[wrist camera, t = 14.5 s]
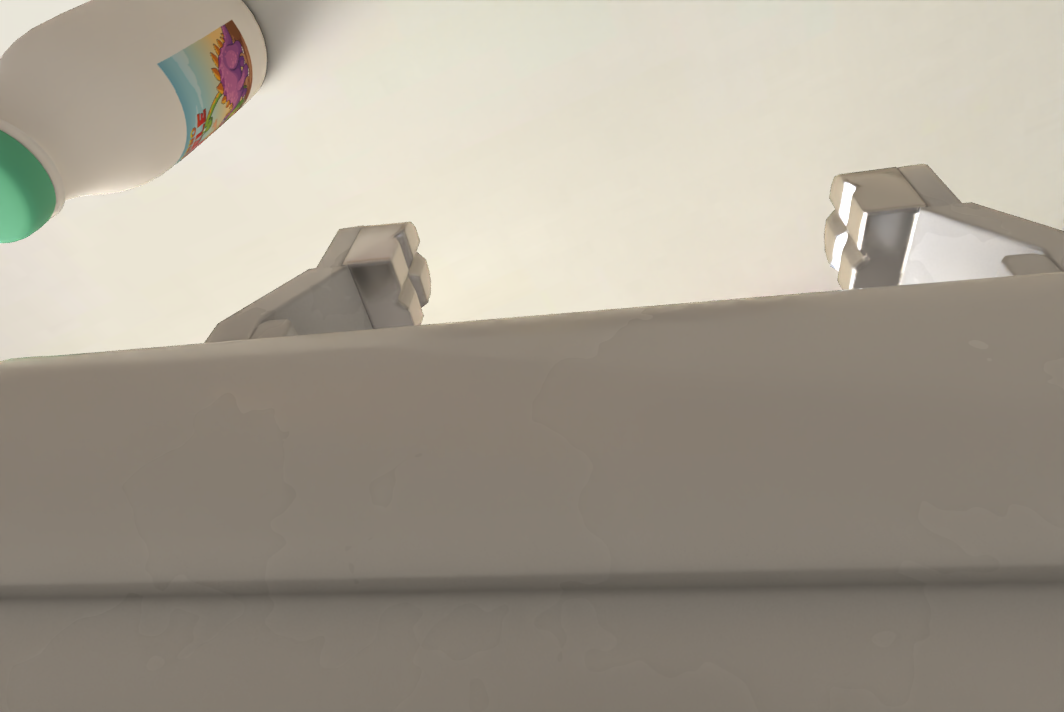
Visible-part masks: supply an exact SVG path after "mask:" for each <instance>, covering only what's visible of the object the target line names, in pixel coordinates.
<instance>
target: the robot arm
mask: <svg viewBox="0 0 1064 712" xmlns="http://www.w3.org/2000/svg"><path fill="white" fill-rule="evenodd" d="M829 199H830V200H831V202H832V204H833V206H834V208H835V210H834V211H833V212H832V213H831V215H830V216H829V217H828V218H827V219H826V224H825V233H824V243H825V253H826V257H827V260H828V262H829V264H830V266H831V267H832V268H834V269H836V270H838V271H839V273H838V279H837V281H838V283H839V285H840V286H841V288H842V290H837V291H825V292H813V293H801V294H789V295H777V296H765V297H753V298H741V299H729V300H717V301H705V302H693V303H681V304H669V305H657V306H645V307H633V308H621V309H609V310H597V311H585V312H573V313H561V314H548V315H536V316H524V317H512V318H500V319H488V320H476V321H464V322H452V323H440V324H428V325H421V323H422V320H423V317H424V315H423V312H422V309H421V308H422V307H423V306H424V305H426V304H427V303H428V301H429V297H430V294H431V279H430V273H429V268H428V265H427V261H426V259H425V258H424V257H422V256H421V255H420V254H419V253H418V252H416V251H417V248H418V246H419V243H420V239H419V236H418V233H417V230H416V227H415V226H414V225H413V224H412V222H402V223H391V224H380V225H369V226H363V225H362V226H356V227H349V228H343V229H339V230H338V232H337V234H336V235H335V237H334V239H333V240H332V242H331V244H330V246H329V247H328V249H327V251H326V252H325V254H324V256H323V257H322V259H321V261H320V263H319V264H318V266H317V268H314V269H308V270H307V271H305V272H303V273H302V274H300V275H298V276H297V277H295V278H293V279H292V280H290V281H288V282H287V283H285V284H283V285H282V286H280V287H278V288H277V289H275V290H273V291H272V292H270V293H268V294H267V295H265V296H263V297H262V298H260V299H258V300H257V301H255V302H253V303H252V304H250V305H248V306H247V307H245V308H243V309H241V310H240V311H238V312H236V313H235V314H233V315H231V316H230V317H228V318H226V319H225V320H223V321H221V322H220V323H218V324H217V326H216V327H215V328H214V330H213V331H212V333H211V334H210V335H209V337H208V338H207V340H206V341H205V343H201V344H189V345H177V346H166V347H154V348H142V349H130V350H118V351H106V352H94V353H82V354H70V355H58V356H38V357H24V358H13V359H8V360H3V361H0V712H1064V231H1062V230H1058V229H1055V228H1052V227H1049V226H1046V225H1042V224H1039V223H1036V222H1033V221H1030V220H1026V219H1023V218H1020V217H1017V216H1013V215H1010V214H1007V213H1004V212H1001V211H997V210H994V209H991V208H988V207H985V206H981V205H978V204H975V203H972V202H971V203H961V201H960V200H959V199H958V198H957V197H956V196H955V195H954V194H953V193H952V191H951V190H950V189H949V188H948V187H947V186H946V185H945V184H944V183H943V181H942V180H941V179H940V178H939V177H938V176H937V175H936V174H935V173H934V171H933V170H932V169H931V168H930V167H929V166H928V165H926V164H917V165H910V166H904V167H897V168H896V167H892V168H884V169H877V170H869V171H862V172H854V173H847V174H839V175H837V176H835V177H834V179H833V182H832V185H831V190H830V196H829Z"/></svg>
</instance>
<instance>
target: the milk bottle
mask: <svg viewBox="0 0 1064 712" xmlns="http://www.w3.org/2000/svg"><path fill="white" fill-rule="evenodd" d="M266 69H267V52H266V47H265V41H264V38H263V35H262V33H261V30H260V27H259V25H258V23H257V22H256V20H255V18H254V16H253V14H252V13H251V11H250V10H249V9H248V8H247V6H246V5H245V3H244V2H243V1H242V0H91V1H89V2H87V3H84V4H82V5H80V6H78V7H75V8H73V9H71V10H68V11H66V12H64V13H62V14H60V15H58V16H56V17H54V18H52V19H50V20H48V21H46V22H44V23H42V24H40V25H38V26H36V27H34V28H32V29H31V30H29V31H28V32H27V33H25V34H24V35H23V36H21V37H20V38H19V39H17V40H16V41H15V42H14V43H13V44H12V45H11V46H10V47H9V48H8V49H7V50H6V51H5V53H4V54H3V56H2V57H1V59H0V243H10V242H15V241H18V240H21V239H24V238H26V237H28V236H30V235H31V234H32V233H34V232H35V231H37V230H38V229H39V228H41V227H42V226H43V225H44V224H45V223H46V222H47V221H48V220H49V219H50V218H52V217H54V216H56V215H57V214H58V213H59V212H60V211H61V209H62V208H63V206H64V203H65V201H66V200H69V199H72V198H76V197H80V196H86V195H100V194H110V193H118V192H122V191H126V190H130V189H134V188H136V187H139V186H141V185H144V184H146V183H148V182H150V181H152V180H154V179H156V178H157V177H159V176H161V175H163V174H164V173H165V172H167V171H168V170H169V169H170V168H172V167H173V166H174V165H176V164H177V163H178V162H179V161H181V160H182V159H183V158H185V157H186V156H187V155H188V154H189V153H190V152H192V151H193V150H194V149H195V148H196V147H197V146H199V145H200V144H201V143H202V142H203V141H204V140H205V139H207V138H208V137H209V136H210V135H211V134H212V133H213V132H215V131H216V130H217V129H218V128H219V127H220V126H221V125H222V124H224V123H225V122H226V121H227V120H228V119H229V118H230V117H231V116H233V115H234V114H235V113H236V112H237V111H238V110H239V109H240V108H241V107H242V106H244V105H245V104H246V103H247V102H248V101H249V100H250V99H251V98H252V97H253V96H254V95H255V94H256V93H257V91H258V90H259V89H260V87H261V85H262V83H263V81H264V78H265V74H266Z"/></svg>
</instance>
